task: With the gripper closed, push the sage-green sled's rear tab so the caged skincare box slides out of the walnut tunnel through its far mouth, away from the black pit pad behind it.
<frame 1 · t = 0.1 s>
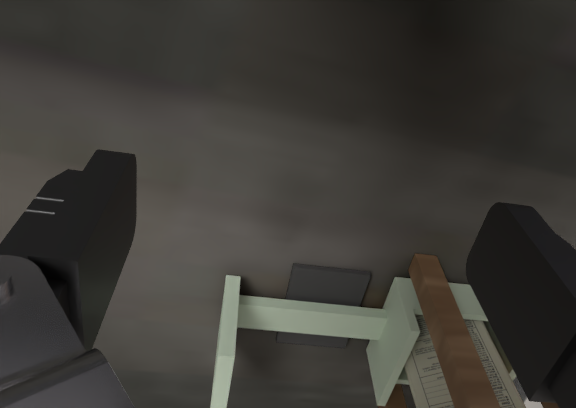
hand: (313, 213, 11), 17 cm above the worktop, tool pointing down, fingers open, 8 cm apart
pit pad: (320, 306, 37), on the worktop
skincare box: (432, 315, 39), resting in sled
tunnel: (433, 317, 38), on the worktop
sled: (367, 352, 34), point 4 cm above the worktop, slide at 0.0 cm
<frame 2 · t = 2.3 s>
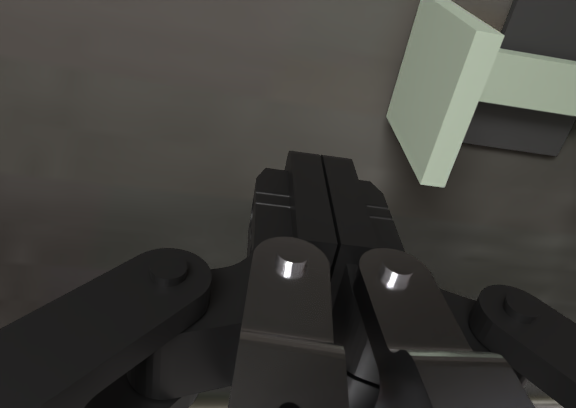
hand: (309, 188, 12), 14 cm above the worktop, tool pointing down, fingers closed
pit pad: (538, 76, 25), on the worktop
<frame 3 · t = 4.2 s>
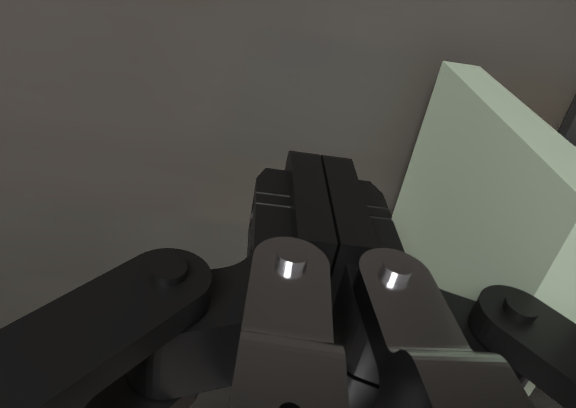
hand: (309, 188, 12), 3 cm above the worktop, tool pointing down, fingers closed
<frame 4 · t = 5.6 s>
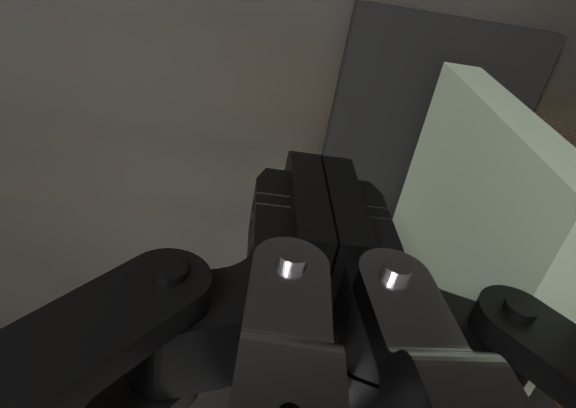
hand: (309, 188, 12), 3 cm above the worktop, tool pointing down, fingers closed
pit pad: (414, 153, 15), on the worktop
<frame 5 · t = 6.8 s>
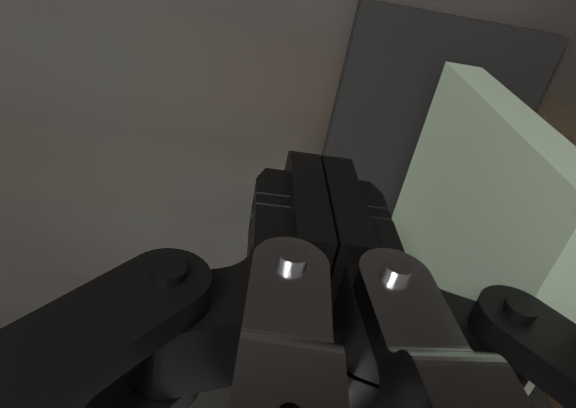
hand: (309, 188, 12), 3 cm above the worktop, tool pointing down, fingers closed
pit pad: (415, 152, 15), on the worktop
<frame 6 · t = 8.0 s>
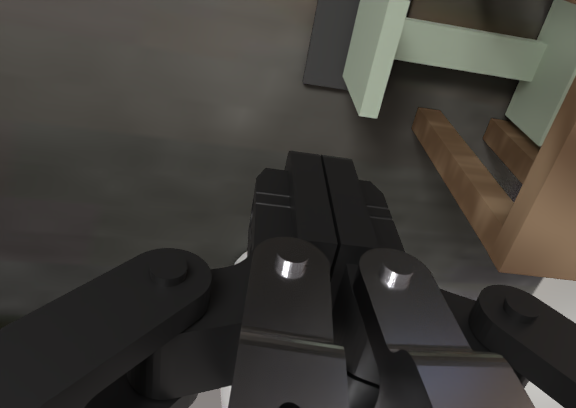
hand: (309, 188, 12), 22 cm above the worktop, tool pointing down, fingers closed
pit pad: (357, 27, 31), on the worktop
tunnel: (490, 49, 32), on the worktop
sled: (532, 70, 29), point 4 cm above the worktop, slide at 7.0 cm
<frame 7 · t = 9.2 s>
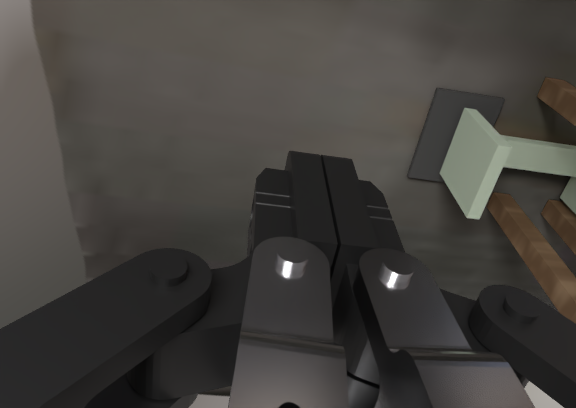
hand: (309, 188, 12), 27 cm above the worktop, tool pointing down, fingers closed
pit pad: (452, 138, 41), on the worktop
tunnel: (551, 152, 42), on the worktop
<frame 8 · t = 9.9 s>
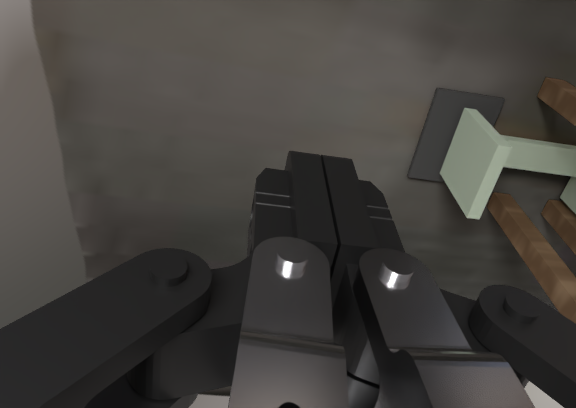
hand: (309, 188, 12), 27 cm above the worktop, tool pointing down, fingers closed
pit pad: (452, 138, 41), on the worktop
tunnel: (551, 152, 42), on the worktop
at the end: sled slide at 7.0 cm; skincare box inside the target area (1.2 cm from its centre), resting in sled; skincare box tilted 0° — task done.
